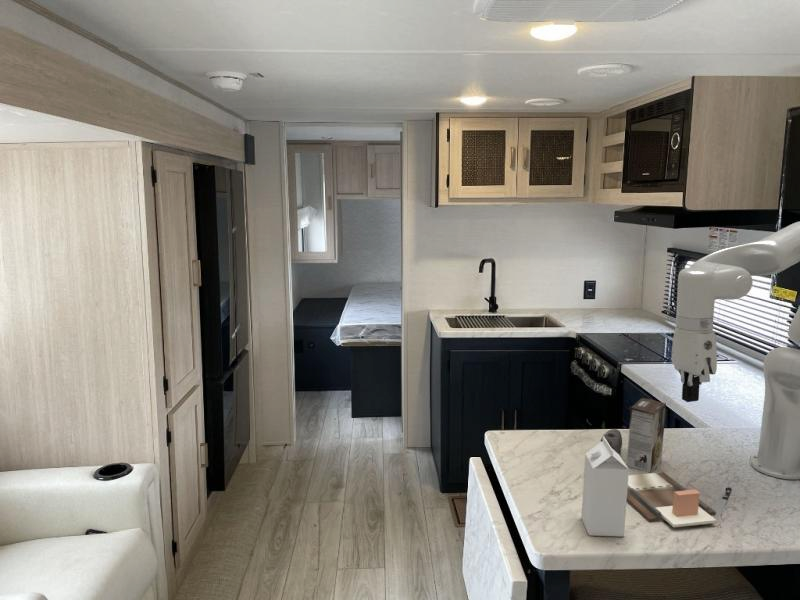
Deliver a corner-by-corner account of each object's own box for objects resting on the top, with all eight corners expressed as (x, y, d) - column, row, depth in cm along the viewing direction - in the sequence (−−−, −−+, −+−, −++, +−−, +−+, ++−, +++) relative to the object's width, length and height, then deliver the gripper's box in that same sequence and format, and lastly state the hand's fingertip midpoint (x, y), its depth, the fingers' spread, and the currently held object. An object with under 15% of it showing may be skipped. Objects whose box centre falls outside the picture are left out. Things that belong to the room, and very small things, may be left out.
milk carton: (614, 519, 132) (620, 436, 129) (624, 537, 125) (630, 451, 122) (581, 517, 133) (586, 435, 129) (588, 536, 126) (594, 450, 122)
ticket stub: (694, 505, 136) (697, 482, 135) (716, 522, 129) (718, 498, 128) (654, 510, 134) (656, 486, 133) (673, 527, 127) (675, 502, 126)
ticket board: (663, 475, 152) (664, 467, 152) (715, 515, 134) (716, 506, 133) (604, 480, 149) (605, 473, 149) (649, 522, 131) (649, 513, 130)
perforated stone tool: (606, 443, 171) (608, 420, 170) (626, 447, 169) (628, 423, 167) (595, 464, 158) (596, 439, 157) (616, 469, 156) (617, 443, 154)
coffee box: (637, 454, 164) (641, 397, 161) (662, 461, 160) (667, 402, 157) (625, 466, 157) (629, 406, 154) (651, 473, 153) (656, 412, 150)
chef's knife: (700, 522, 132) (715, 526, 130) (700, 518, 132) (715, 521, 130) (718, 488, 147) (732, 491, 145) (718, 483, 146) (732, 486, 145)
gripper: (733, 329, 130) (727, 410, 134) (687, 314, 145) (683, 387, 148) (702, 332, 129) (697, 414, 132) (659, 317, 143) (655, 391, 147)
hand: (690, 400), depth 140 cm, fingers closed
